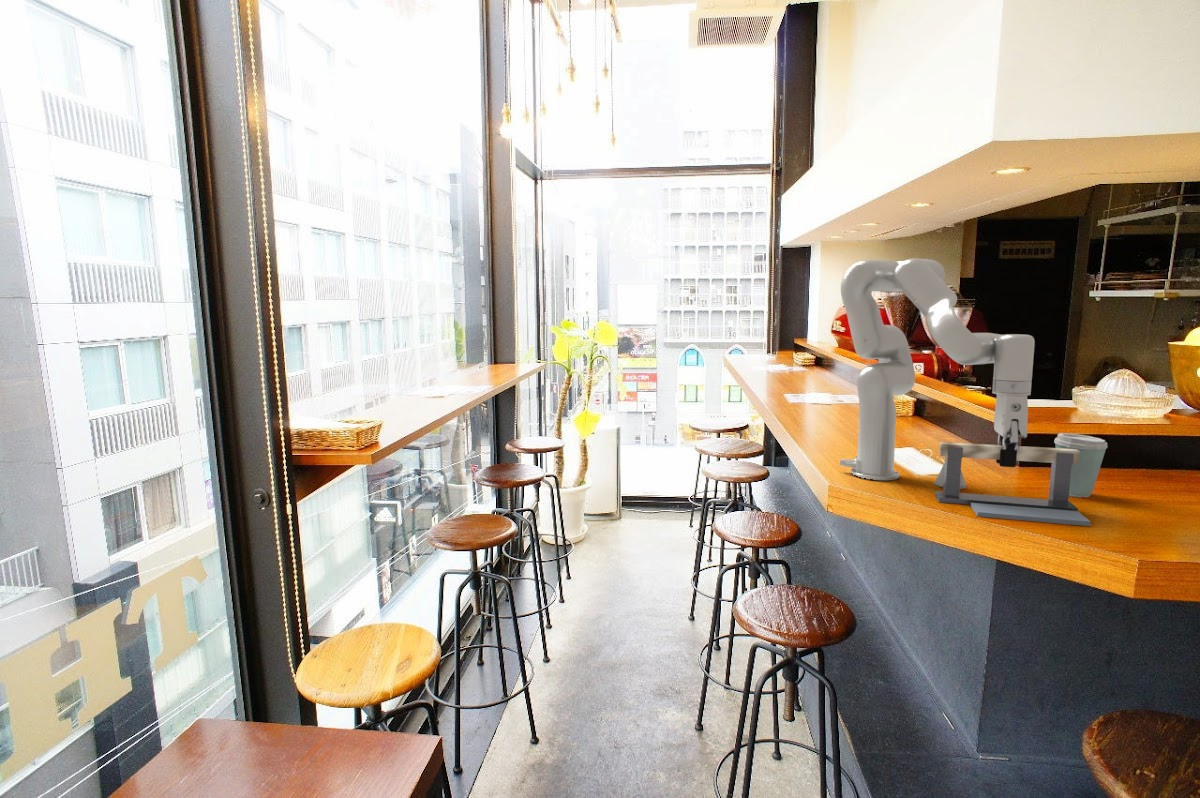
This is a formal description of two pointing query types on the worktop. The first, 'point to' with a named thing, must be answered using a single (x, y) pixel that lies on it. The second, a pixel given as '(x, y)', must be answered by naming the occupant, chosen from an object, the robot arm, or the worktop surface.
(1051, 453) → the rail
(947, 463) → the grey holder stand
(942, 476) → the flask
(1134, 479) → the worktop surface
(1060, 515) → the mat
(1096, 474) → the disposable coffee cup
